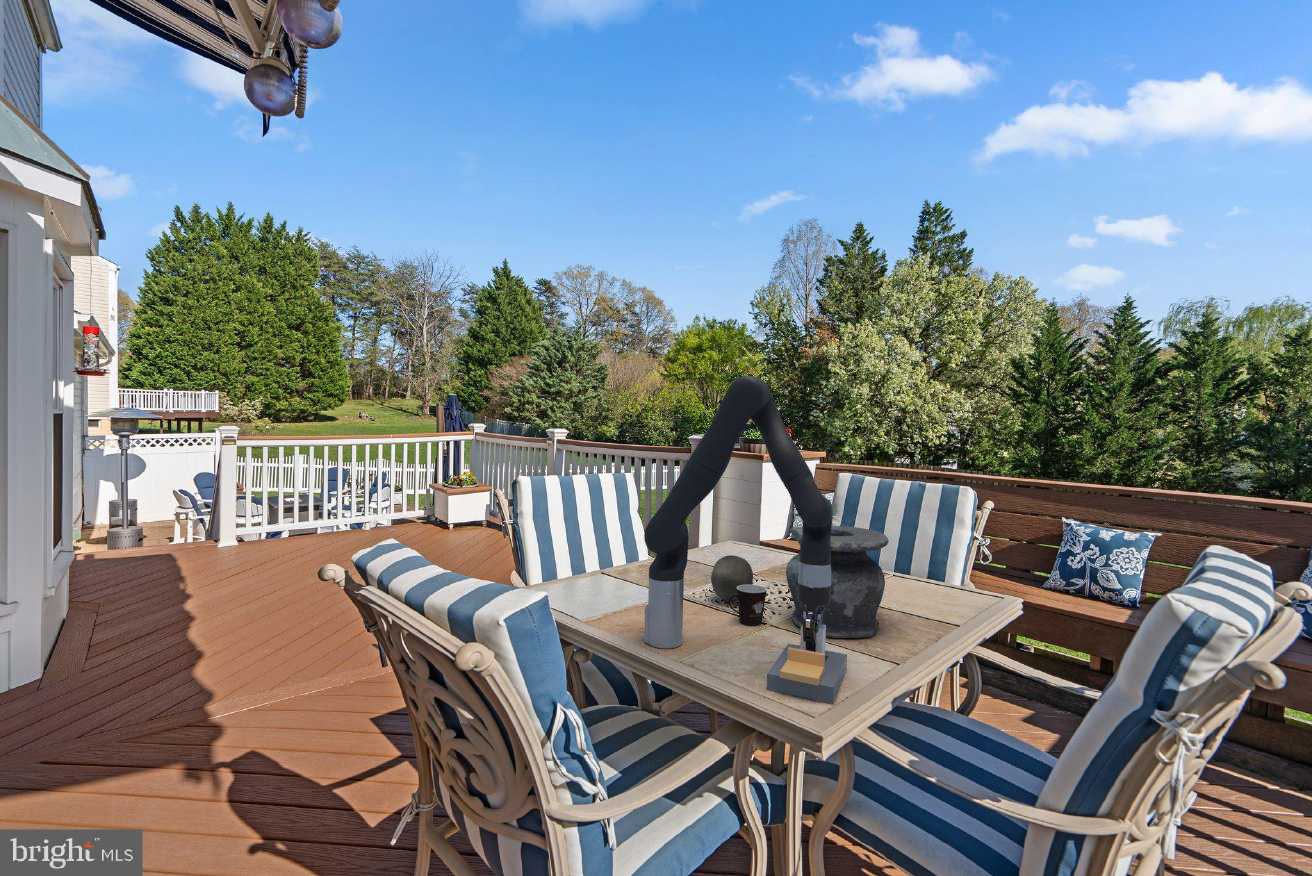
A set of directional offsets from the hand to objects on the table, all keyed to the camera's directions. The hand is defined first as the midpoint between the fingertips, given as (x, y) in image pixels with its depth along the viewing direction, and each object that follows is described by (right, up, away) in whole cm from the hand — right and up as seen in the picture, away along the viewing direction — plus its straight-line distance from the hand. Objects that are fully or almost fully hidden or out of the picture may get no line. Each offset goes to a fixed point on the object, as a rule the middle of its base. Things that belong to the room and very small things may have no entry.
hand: (812, 654), depth 135 cm
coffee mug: (-10, -4, +34) cm, 36 cm away
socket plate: (-2, -4, -4) cm, 6 cm away
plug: (0, -2, 0) cm, 2 cm away
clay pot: (+15, -4, +34) cm, 37 cm away
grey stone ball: (-12, -3, +54) cm, 55 cm away
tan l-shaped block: (-5, -1, -10) cm, 11 cm away
